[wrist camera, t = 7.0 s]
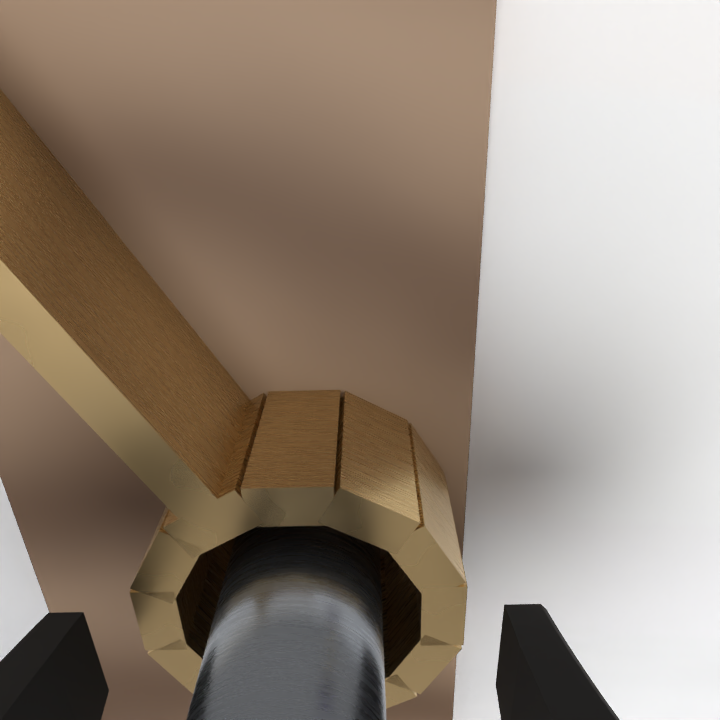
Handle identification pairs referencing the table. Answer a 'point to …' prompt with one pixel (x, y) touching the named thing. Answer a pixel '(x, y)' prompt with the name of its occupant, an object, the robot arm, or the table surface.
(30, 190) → the hinge
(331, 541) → the pin
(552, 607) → the table surface
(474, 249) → the board
